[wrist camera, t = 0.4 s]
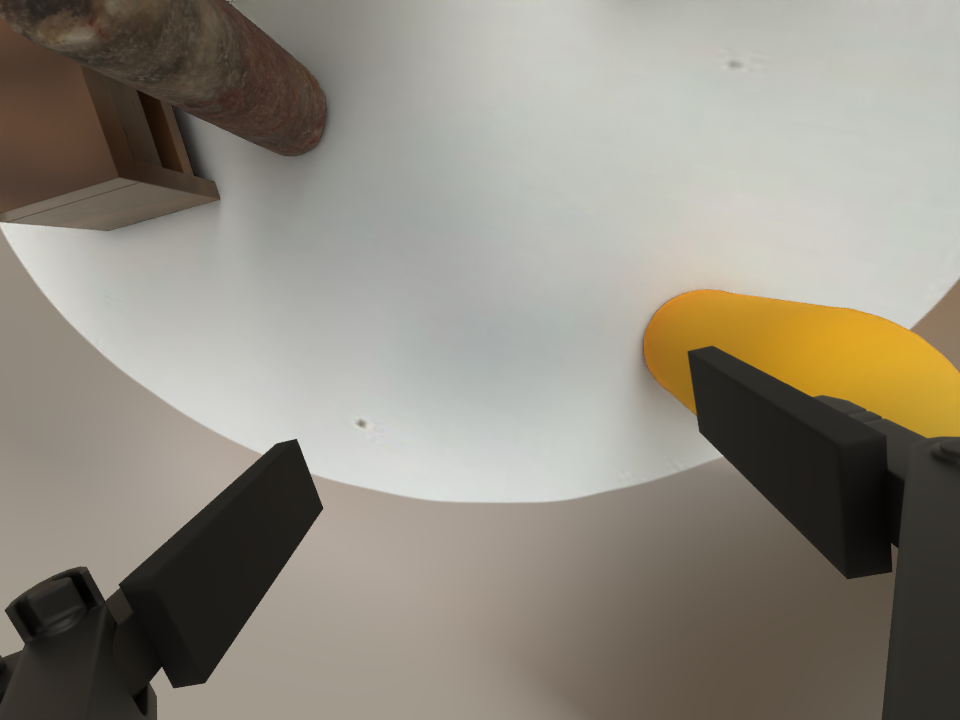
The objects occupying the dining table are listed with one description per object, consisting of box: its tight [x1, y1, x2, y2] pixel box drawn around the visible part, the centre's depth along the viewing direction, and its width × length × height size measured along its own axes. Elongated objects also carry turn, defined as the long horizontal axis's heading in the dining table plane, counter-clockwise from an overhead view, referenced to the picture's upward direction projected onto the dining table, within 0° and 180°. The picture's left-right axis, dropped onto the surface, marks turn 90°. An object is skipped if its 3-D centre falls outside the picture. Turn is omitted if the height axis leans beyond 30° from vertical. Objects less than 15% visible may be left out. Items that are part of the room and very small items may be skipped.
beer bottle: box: [643, 290, 960, 438], centre depth 25 cm, size 9×9×29 cm
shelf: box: [0, 16, 220, 231], centre depth 36 cm, size 18×12×10 cm, turn 13°
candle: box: [0, 0, 327, 156], centre depth 29 cm, size 8×7×20 cm
